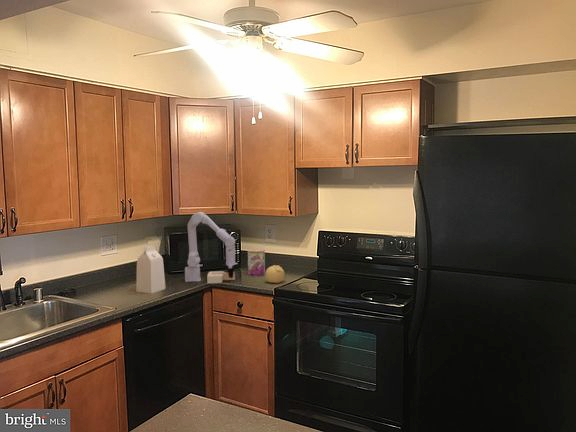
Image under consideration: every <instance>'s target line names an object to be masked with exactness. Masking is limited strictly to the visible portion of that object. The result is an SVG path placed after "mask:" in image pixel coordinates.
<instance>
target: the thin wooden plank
mask: <svg viewBox="0 0 576 432" xmlns="http://www.w3.org/2000/svg"><path fill="white" fill-rule="evenodd" d="M212 272H213V274H223V277H222V281H235V280H236V271H234V272H233V278H229V274H228V271H224V272H216V271H212Z"/></svg>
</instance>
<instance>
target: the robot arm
mask: <svg viewBox="0 0 576 432" xmlns="http://www.w3.org/2000/svg"><path fill="white" fill-rule="evenodd" d="M200 223H202V224H204V225H207V226H208V227H210V229H212V230H213V231H214V232H215V234H216V237H218V238H219V239H220V240H221V241H222V242H223V243H224V246H225V265H226V271H227V272H228V274H229V278H233V272H235V271H234V270H235V268H236V265H237V264H238V262H236V249H235V248H236V246H235V244H236V239H235V238H234V236H232V235H230V233H228V232H227V229H224V228H220V227H219V226H218V225H217V224H216V223H215V222H214V221H213V220H212V219H211V218H210V217H209V216H208V215H207V214H205V212H203V211H198V212H195V213H194V214H192V215H191V218H190V219H189V221H188V223H187V233H188V234H187V236H188V249H189V250H188V259H187V265H188V266H185V268H184V281H185V283H187V282H190V283H191V282H201V280H202V277H201V266H200V263H201V258H200V255H199V252H198V244H197V243H198V241H197V227H198V225H199V224H200Z"/></svg>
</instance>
